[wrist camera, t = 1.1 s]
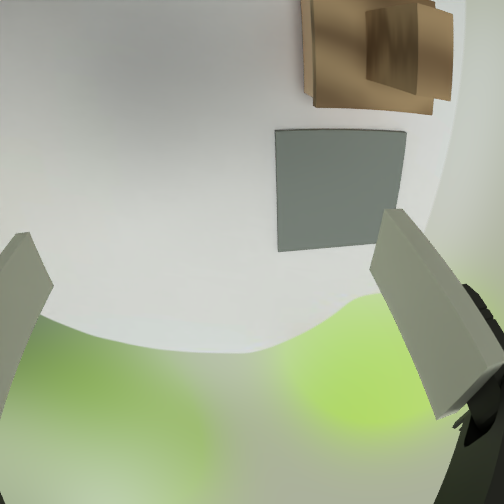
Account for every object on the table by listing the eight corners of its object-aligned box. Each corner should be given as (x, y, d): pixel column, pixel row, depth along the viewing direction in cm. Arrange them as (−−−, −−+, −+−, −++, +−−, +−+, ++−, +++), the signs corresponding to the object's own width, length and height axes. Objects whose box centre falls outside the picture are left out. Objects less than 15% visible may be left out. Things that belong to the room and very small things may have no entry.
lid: (308, -21, 19) (346, -50, 11) (428, 2, 19) (494, 0, 11) (313, 105, 27) (350, 132, 19) (426, 112, 27) (486, 144, 19)
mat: (274, 130, 34) (275, 131, 33) (404, 131, 34) (406, 133, 34) (277, 249, 44) (278, 252, 44) (387, 240, 44) (388, 242, 44)
